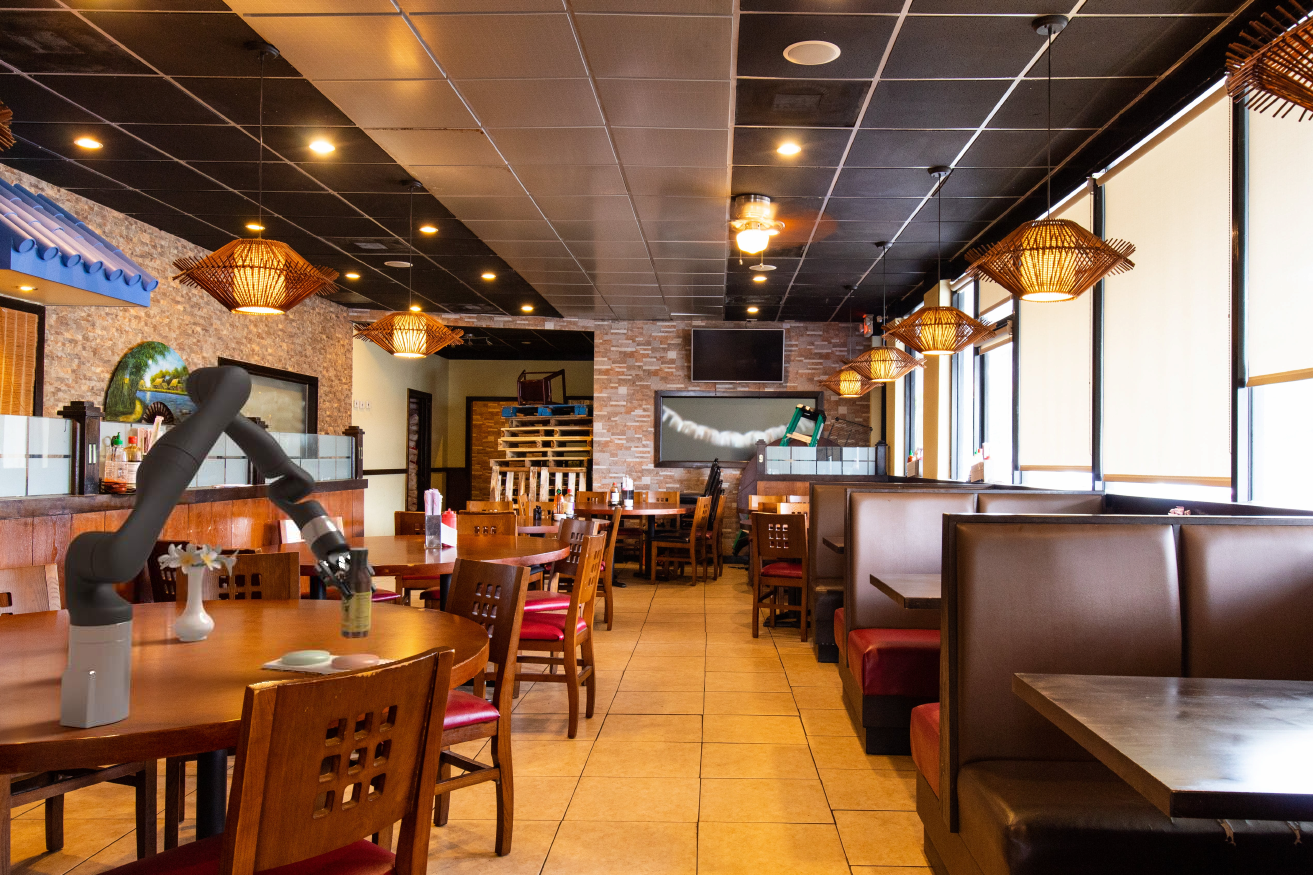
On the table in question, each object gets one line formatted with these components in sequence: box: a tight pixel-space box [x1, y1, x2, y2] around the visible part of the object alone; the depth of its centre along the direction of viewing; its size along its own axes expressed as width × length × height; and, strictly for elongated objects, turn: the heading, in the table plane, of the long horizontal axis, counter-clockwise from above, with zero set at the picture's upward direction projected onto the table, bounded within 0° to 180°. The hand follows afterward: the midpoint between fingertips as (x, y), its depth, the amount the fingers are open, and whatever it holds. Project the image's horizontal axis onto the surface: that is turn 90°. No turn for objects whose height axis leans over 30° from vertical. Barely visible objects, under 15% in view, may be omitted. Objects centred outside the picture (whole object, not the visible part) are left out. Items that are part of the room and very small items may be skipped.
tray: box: [262, 649, 397, 675], centre depth 183 cm, size 12×26×2 cm, turn 75°
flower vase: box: [157, 542, 240, 643], centre depth 211 cm, size 13×18×25 cm
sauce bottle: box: [340, 547, 373, 639], centre depth 182 cm, size 6×6×20 cm
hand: (362, 595), depth 181 cm, fingers closed on sauce bottle, 6 cm apart
